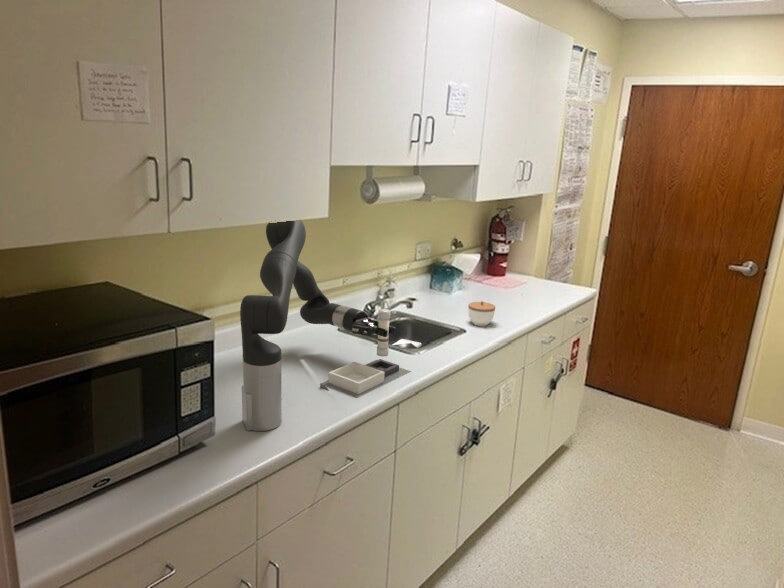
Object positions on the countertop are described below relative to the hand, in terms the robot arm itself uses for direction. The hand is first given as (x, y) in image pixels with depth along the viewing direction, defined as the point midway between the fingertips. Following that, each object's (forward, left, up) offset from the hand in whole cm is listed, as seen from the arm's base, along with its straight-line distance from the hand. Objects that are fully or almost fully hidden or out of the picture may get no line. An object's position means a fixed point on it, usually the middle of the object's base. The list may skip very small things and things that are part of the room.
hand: (390, 332), depth 175 cm
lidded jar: (+58, +38, -15) cm, 71 cm away
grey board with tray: (-7, -1, -15) cm, 16 cm away
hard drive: (+16, +22, -15) cm, 31 cm away
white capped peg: (-1, +2, -8) cm, 8 cm away
